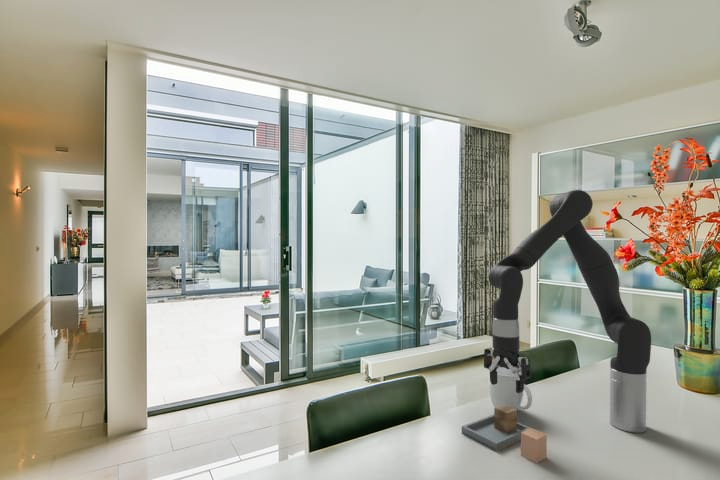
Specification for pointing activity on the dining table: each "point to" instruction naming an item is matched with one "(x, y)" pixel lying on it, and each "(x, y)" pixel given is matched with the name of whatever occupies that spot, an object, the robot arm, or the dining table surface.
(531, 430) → the block
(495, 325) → the robot arm
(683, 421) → the dining table surface
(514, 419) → the block
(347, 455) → the dining table surface
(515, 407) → the mug
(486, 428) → the tray
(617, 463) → the dining table surface
